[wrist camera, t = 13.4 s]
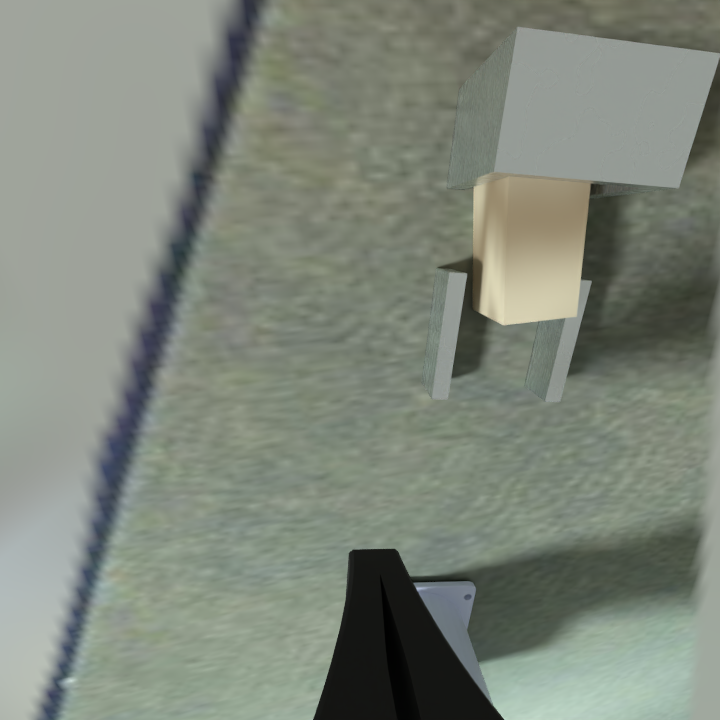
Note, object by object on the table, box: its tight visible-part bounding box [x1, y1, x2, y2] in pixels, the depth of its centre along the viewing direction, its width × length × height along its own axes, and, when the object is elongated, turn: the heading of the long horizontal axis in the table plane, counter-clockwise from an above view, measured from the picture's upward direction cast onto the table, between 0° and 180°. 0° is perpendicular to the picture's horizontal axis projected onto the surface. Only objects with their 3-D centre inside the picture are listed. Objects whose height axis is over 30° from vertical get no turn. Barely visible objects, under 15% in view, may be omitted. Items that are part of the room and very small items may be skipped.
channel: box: [422, 268, 592, 402], centre depth 18 cm, size 6×7×2 cm
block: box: [447, 27, 720, 199], centre depth 14 cm, size 4×7×5 cm, turn 86°
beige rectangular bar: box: [473, 177, 591, 325], centre depth 16 cm, size 8×3×4 cm, turn 5°
